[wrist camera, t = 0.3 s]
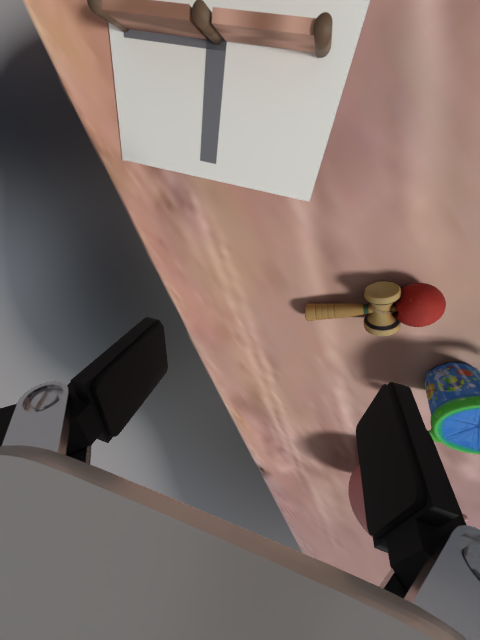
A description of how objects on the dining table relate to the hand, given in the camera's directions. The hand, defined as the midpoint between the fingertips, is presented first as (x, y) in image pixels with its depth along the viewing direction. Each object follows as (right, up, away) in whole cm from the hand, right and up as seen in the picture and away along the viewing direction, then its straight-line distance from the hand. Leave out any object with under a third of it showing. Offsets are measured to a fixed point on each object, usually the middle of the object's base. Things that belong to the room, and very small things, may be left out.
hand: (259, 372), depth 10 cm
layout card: (-3, +32, +18) cm, 37 cm away
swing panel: (+3, +32, +15) cm, 35 cm away
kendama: (+19, +5, +28) cm, 34 cm away
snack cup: (+35, -7, +30) cm, 46 cm away
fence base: (-9, +36, +17) cm, 41 cm away
